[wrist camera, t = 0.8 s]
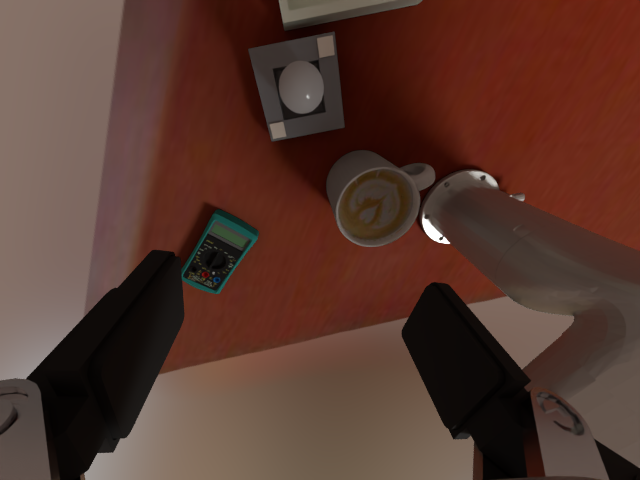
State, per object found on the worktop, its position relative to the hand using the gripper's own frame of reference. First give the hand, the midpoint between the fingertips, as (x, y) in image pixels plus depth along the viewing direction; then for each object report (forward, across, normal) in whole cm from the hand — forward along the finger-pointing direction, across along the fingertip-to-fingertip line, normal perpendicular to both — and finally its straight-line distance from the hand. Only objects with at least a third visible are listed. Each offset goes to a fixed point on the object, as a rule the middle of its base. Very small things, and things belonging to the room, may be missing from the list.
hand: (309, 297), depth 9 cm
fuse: (+27, +1, -7) cm, 28 cm away
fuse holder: (+28, +1, -7) cm, 29 cm away
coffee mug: (+28, -12, +2) cm, 30 cm away
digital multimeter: (+29, +10, +18) cm, 35 cm away
